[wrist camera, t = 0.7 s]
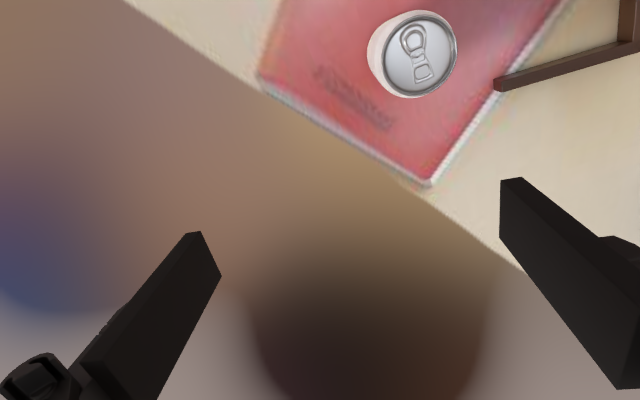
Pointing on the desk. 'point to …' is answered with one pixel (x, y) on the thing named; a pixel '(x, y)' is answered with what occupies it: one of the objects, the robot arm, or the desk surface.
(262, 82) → the desk surface
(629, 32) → the bay
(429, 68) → the can
